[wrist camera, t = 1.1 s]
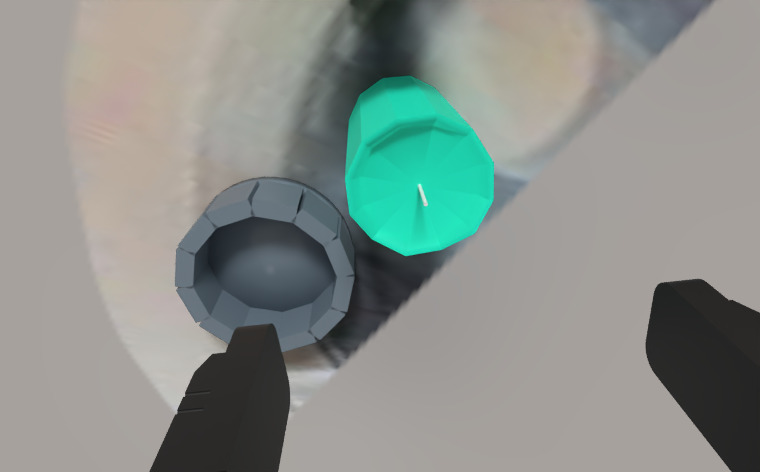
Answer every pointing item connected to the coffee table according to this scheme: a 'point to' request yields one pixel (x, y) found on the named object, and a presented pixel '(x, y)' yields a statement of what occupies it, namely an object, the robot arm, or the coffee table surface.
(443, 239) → the candle
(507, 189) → the coffee table surface
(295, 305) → the candle dish
